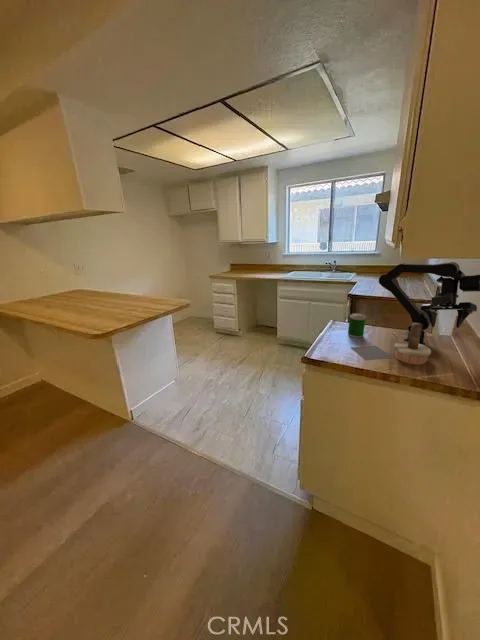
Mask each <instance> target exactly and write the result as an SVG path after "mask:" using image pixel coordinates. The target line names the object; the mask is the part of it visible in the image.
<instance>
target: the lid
mask: <svg viewBox="0 0 480 640" xmlns="http://www.w3.org/2000/svg"><path fill="white" fill-rule="evenodd" d="M411 325H412V327H411V332H410V337H409V342H407V341H405V340H404V341H398V342H396V343H394V349H395V351H396V350H397V351H399V352H401V353H403V354H407V355H411V356H417V357H425V356H428V357H429V356H431V354H432V349H431V348H430V347H429V346H427V345H426V344H419V340H420V335H421V330H422V324H420V323H413V322H412V323H411Z"/></svg>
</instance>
